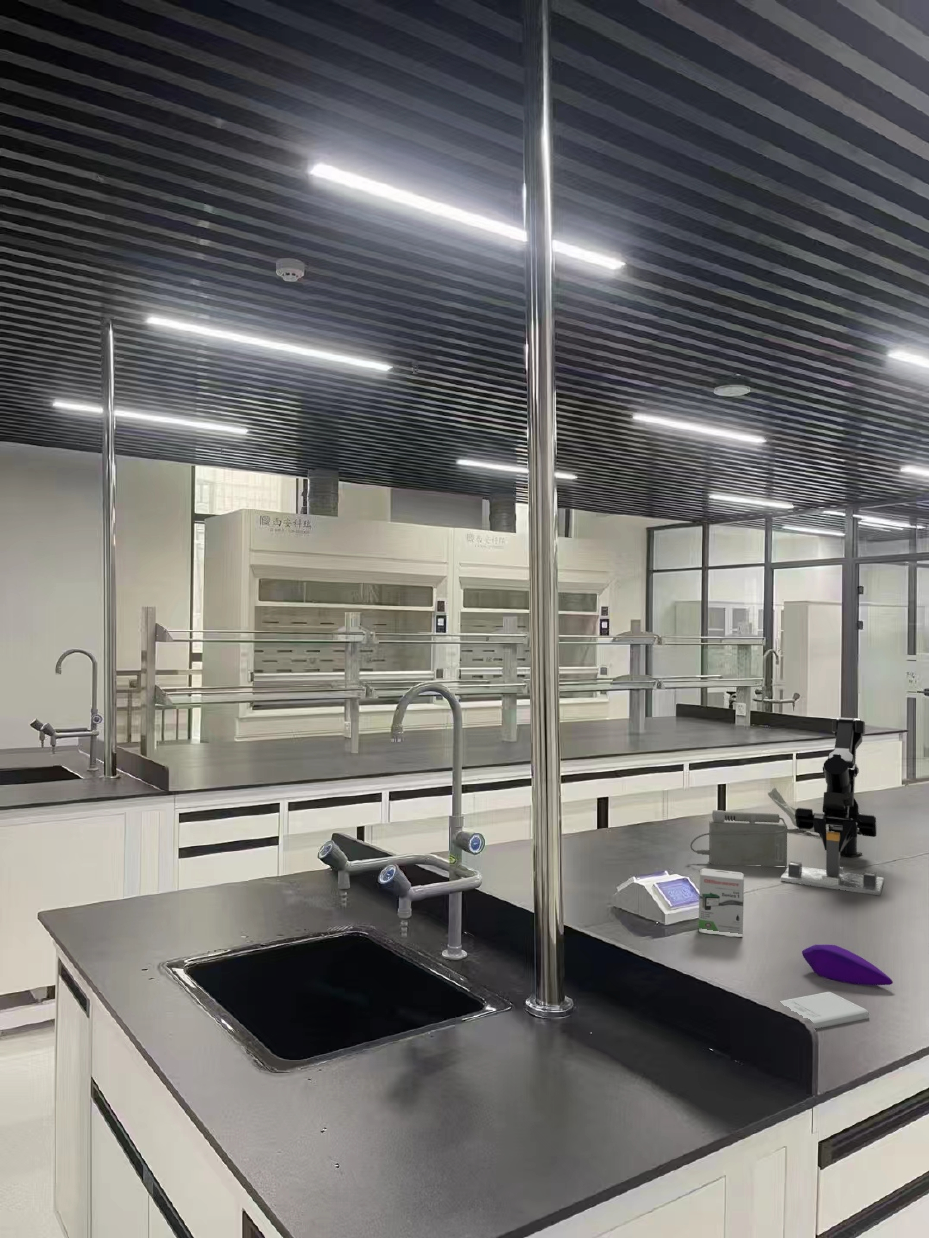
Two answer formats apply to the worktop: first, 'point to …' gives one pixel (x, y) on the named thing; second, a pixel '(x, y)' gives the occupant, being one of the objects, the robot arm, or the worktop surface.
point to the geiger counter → (746, 839)
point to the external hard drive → (826, 1009)
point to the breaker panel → (834, 879)
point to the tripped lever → (832, 854)
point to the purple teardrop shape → (843, 966)
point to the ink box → (721, 900)
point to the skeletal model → (787, 807)
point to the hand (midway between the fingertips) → (832, 850)
